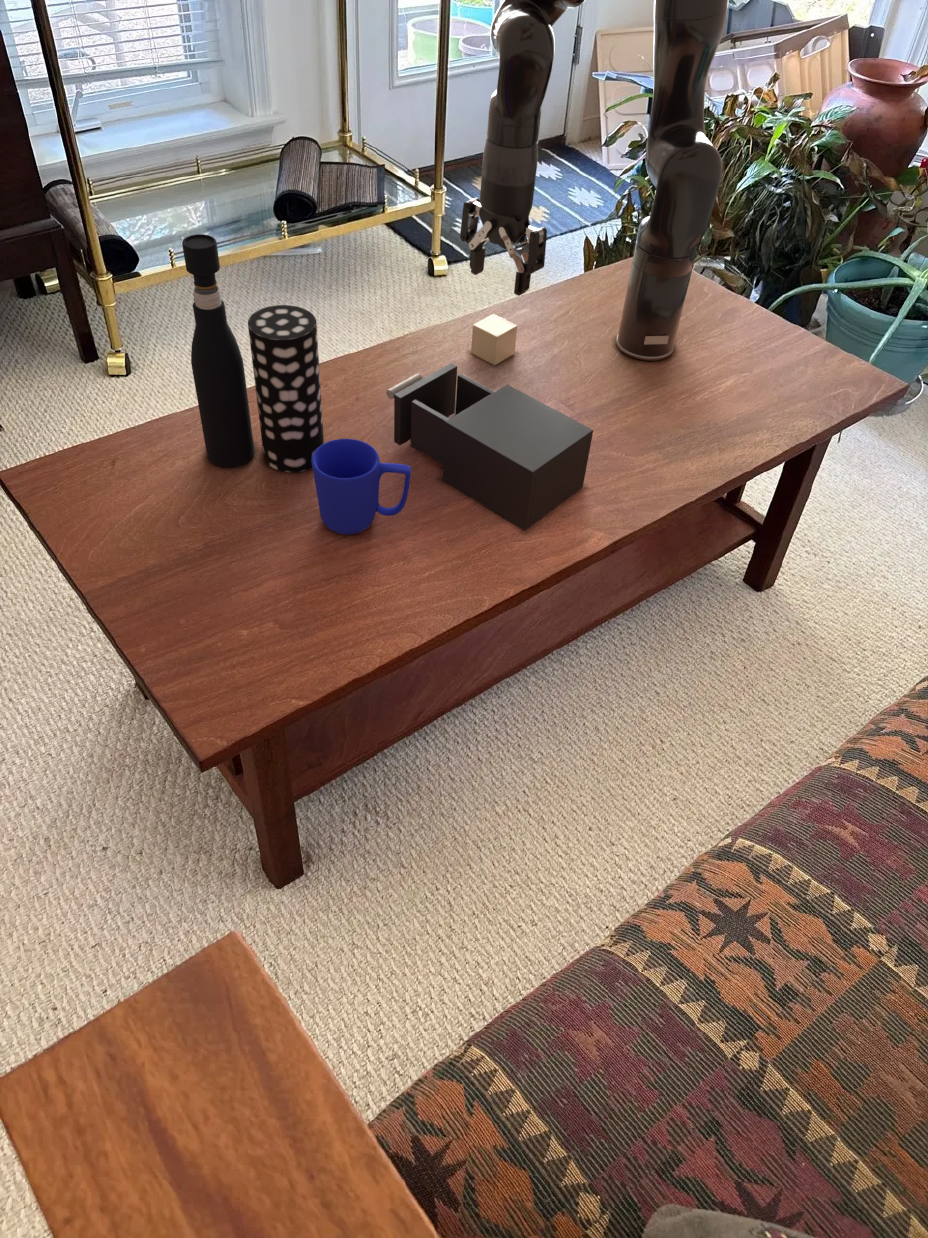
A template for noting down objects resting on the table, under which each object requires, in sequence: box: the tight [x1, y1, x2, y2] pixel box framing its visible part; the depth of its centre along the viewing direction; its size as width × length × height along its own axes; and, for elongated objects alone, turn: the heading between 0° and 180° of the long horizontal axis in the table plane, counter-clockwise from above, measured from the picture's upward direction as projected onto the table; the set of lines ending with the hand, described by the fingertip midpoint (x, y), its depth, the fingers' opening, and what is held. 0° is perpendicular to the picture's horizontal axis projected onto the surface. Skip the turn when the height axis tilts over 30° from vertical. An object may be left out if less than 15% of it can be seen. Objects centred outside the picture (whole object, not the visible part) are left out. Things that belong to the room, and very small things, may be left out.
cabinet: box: [441, 383, 594, 532], centre depth 126 cm, size 15×13×10 cm
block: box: [470, 313, 518, 366], centre depth 150 cm, size 5×5×5 cm
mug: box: [311, 438, 412, 536], centre depth 119 cm, size 8×12×10 cm
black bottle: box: [181, 233, 256, 469], centre depth 119 cm, size 6×6×30 cm
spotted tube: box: [247, 304, 325, 473], centre depth 124 cm, size 8×8×20 cm
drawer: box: [385, 362, 495, 466], centre depth 131 cm, size 18×11×8 cm, turn 48°
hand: (498, 282), depth 143 cm, fingers open, 8 cm apart
